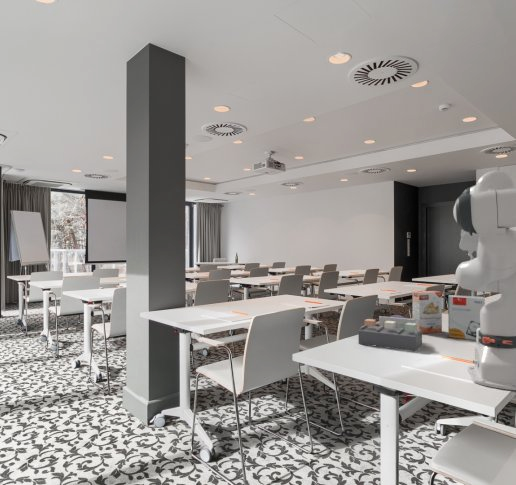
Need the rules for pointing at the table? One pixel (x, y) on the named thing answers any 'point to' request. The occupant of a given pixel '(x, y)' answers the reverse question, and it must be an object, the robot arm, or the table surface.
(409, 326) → the sage key
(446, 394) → the table surface
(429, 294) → the cracker box
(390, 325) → the cream key
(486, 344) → the robot arm
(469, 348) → the table surface
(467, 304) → the hard drive box
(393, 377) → the table surface
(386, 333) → the key console
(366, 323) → the terracotta key
